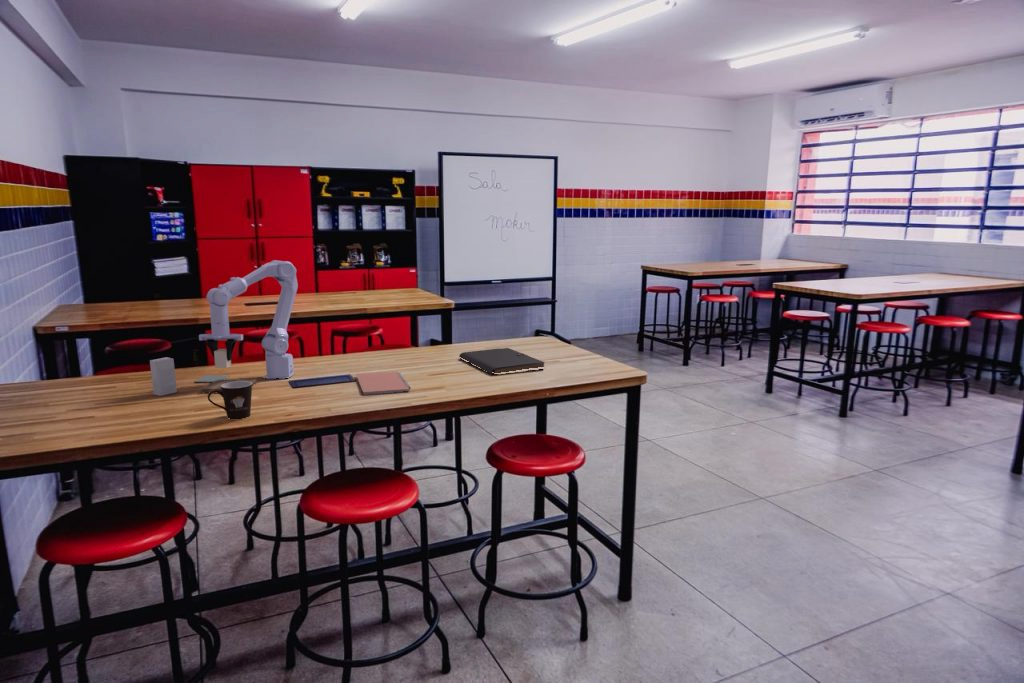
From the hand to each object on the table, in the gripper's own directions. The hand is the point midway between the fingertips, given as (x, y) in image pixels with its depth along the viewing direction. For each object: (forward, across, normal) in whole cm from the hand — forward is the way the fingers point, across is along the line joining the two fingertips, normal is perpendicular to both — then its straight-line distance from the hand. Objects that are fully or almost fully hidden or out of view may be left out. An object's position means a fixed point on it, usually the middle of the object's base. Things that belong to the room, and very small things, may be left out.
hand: (222, 360), depth 222 cm
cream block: (+2, 0, 0) cm, 2 cm away
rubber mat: (+9, -8, +9) cm, 15 cm away
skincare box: (+10, -16, -10) cm, 21 cm away
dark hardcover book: (+10, +101, +34) cm, 107 cm away
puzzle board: (+9, +3, -4) cm, 10 cm away
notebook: (+10, +56, +2) cm, 57 cm away
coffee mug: (+10, +17, -37) cm, 41 cm away
